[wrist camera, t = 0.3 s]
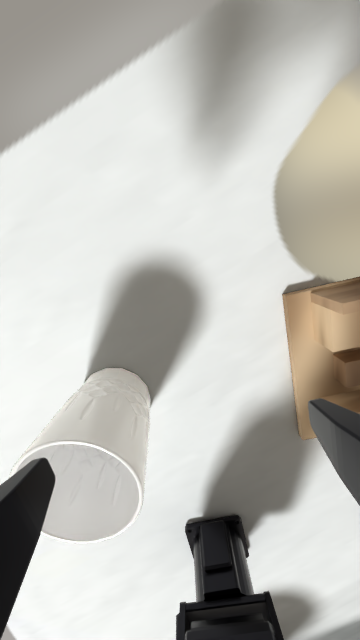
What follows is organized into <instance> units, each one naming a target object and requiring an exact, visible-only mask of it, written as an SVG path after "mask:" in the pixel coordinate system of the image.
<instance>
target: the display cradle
mask: <svg viewBox="0 0 360 640" xmlns="http://www.w3.org/2000/svg"><path fill="white" fill-rule="evenodd" d="M282 296H283V305H284V313H285V321H286V330H287V338H288V346H289V355H290V363H291V371H292V380H293V388H294V396H295V405H296V413H297V421H298V430H299V435H300V437H301V438H302V440H307V439H312V438H317V436H316V435H315V433H314V431H313V429H312V427H311V424H310V419H309V411H308V402H309V401H310V400H314V399H318V398H322V399H325V400H327V401H330V402H332V403H334V404H337V405H339V406H342V407H344V408H346V409H349V410H351V411H353V412H356V413H358V414H360V277H356V278H352V279H347V280H343V281H339V282H334V283H330V284H325V285H321V286H317V287H312V288H308V289H303V290H299V291H295V292H290V293H286V294H282Z"/></svg>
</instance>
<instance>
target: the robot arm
mask: <svg viewBox="0 0 360 640" xmlns="http://www.w3.org/2000/svg"><path fill="white" fill-rule="evenodd" d="M308 411H309V419H310V424H311V427H312V429H313V431H314V433H315V435H316V436H317V438H318V440H319V442H320V443H321V445H322V447H323V449H324V451H325V452H326V454H327V456H328V458H329V459H330V461H331V463H332V465H333V466H334V468H335V470H336V472H337V473H338V475H339V477H340V478H341V480H342V481H343V483H344V484H345V485H346V487H347V488H348V490H349V491H350V493H351V494H352V495H353V497H354V498H355V500H356V501H357V503H358V504H359V505H360V414H358V413H356V412H353V411H351V410H349V409H346V408H344V407H342V406H339V405H337V404H334V403H332V402H330V401H327V400H325V399H322V398H318V399H314V400H310V401H309V402H308ZM55 480H56V478H55V474H54V472H53V470H52V467H51V465H50V463H49V461H48V459H46V458H44V457H43V458H38V459H34V460H32V461H30V462H29V463H28V464H27V465H25V466H24V467H23V468H22V469H20V470H19V471H18V472H17V473H15V474H14V475H13V476H11V477H10V478H9V479H8V480H6V481H5V482H4V483H3V484H1V485H0V640H1V638H2V635H3V632H4V630H5V627H6V624H7V622H8V619H9V616H10V614H11V611H12V609H13V606H14V603H15V601H16V598H17V595H18V593H19V590H20V587H21V585H22V582H23V579H24V577H25V574H26V571H27V569H28V566H29V563H30V561H31V558H32V555H33V553H34V550H35V547H36V545H37V542H38V539H39V536H40V533H41V530H42V527H43V524H44V520H45V517H46V513H47V510H48V506H49V503H50V499H51V496H52V493H53V489H54V486H55ZM185 532H186V535H187V539H188V542H189V545H190V548H191V551H192V555H193V558H194V566H195V584H196V602H191V603H186V602H180V613H179V614H178V615H177V616H176V640H284V639H283V635H282V632H281V629H280V626H279V622H278V619H277V616H276V612H275V609H274V606H273V602H272V599H271V596H270V593H269V591H267V592H264V593H262V594H254V592H253V587H252V583H251V578H250V574H249V569H248V565H247V560H246V558H247V557H248V556H249V553H248V549H247V544H246V540H245V535H244V531H243V526H242V522H241V518H240V517H239V516H231V517H226V518H220V519H215V520H209V521H204V522H198V523H193V524H188V525H186V526H185Z"/></svg>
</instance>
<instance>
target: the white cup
mask: <svg viewBox="0 0 360 640" xmlns="http://www.w3.org/2000/svg"><path fill="white" fill-rule="evenodd" d="M150 403H151V398H150V395H149V391H148V388H147V385H146V384H145V383H144V382H143V381H142V380H141V379H140V378H139V376H138V375H137V374H134V373H132V372H130V371H128V370H125V369H123V368H105V369H102V370H100V371H98V372H96V373H93V374H91V375H90V377H89V378H88V379H87V380H86V382H85V383H84V384H83V385H82V387H81V388H80V389H79V390H78V391H77V392H75V393H74V394H73V395H72V396H71V397H70V398H69V399H68V401H67V402H66V403H65V404H64V405H63V407H62V408H61V409H60V410H59V411H58V412H57V413H56V414H55V416H54V417H53V418H52V419H51V421H50V422H49V423H48V424H47V426H46V427H45V428H44V429H43V431H42V432H41V433H40V434H39V435H38V437H37V438H36V439H35V440H34V441H33V442H32V444H31V445H30V446H29V447H28V449H27V450H26V451H25V452H24V453H23V455H22V456H21V457H20V458H19V459H18V461H17V462H16V463H15V465H14V466H13V468H12V470H11V473H10V476H9V478H10V477H11V476H13V475H14V474H15V473H17V472H18V471H19V470H20V469H22V468H23V467H24V466H25V465H27V464H28V463H29V462H30V461H32V460H34V459H38V458H43V457H44V458H46V459H48V461H49V463H50V465H51V467H52V470H53V472H54V474H55V478H56V480H55V486H54V489H53V493H52V496H51V499H50V503H49V506H48V510H47V513H46V517H45V520H44V524H43V527H42V530H41V533H42V534H44V535H46V536H48V537H51V538H54V539H57V540H60V541H65V542H71V543H93V542H99V541H103V540H107V539H110V538H112V537H115V536H117V535H119V534H120V533H122V532H123V531H125V530H126V529H127V528H129V527H130V526H131V525H132V524H133V523H134V521H135V520H136V519H137V517H138V515H139V513H140V511H141V508H142V505H143V497H144V486H145V475H146V465H147V454H148V442H149V426H150V418H149V412H150Z"/></svg>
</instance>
